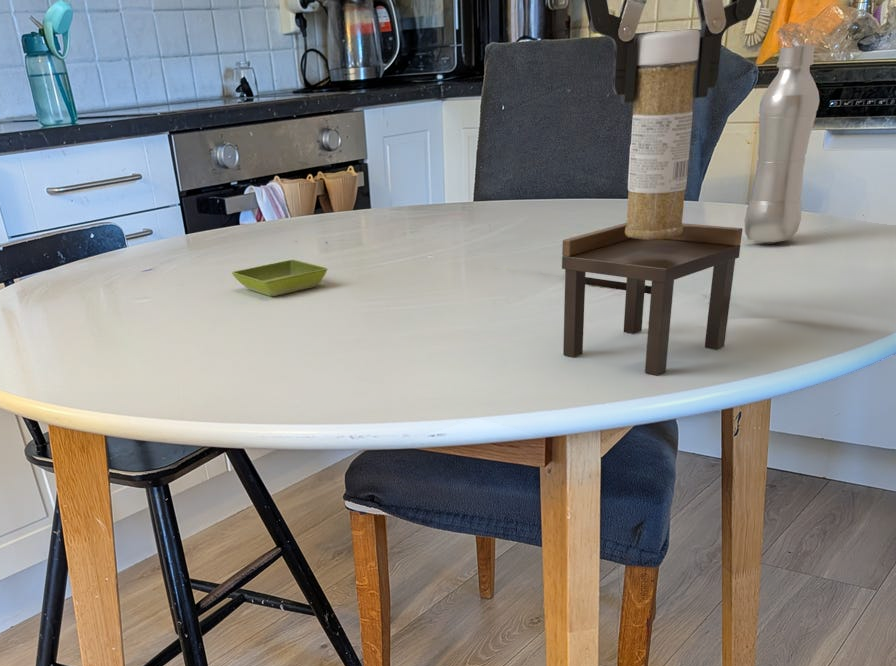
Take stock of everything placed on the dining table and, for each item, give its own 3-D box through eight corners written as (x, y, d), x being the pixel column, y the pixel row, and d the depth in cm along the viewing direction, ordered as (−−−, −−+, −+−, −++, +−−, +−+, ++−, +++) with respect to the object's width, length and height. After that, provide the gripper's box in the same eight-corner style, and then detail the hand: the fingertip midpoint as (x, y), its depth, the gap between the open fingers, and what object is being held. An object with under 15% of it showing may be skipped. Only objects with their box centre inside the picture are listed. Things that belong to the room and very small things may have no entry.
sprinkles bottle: (652, 228, 72) (666, 30, 64) (695, 234, 69) (715, 26, 61) (611, 237, 70) (621, 35, 62) (653, 244, 67) (669, 30, 59)
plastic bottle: (799, 237, 108) (830, 43, 97) (794, 248, 103) (827, 44, 92) (745, 237, 111) (769, 47, 100) (737, 247, 106) (762, 49, 95)
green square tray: (331, 286, 104) (329, 267, 103) (267, 300, 100) (264, 281, 99) (295, 276, 110) (292, 259, 109) (233, 290, 106) (230, 272, 105)
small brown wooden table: (728, 346, 74) (743, 228, 69) (657, 376, 69) (668, 251, 63) (630, 328, 80) (637, 219, 75) (559, 355, 75) (562, 239, 70)
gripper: (577, -221, 52) (570, 111, 62) (824, -248, 51) (778, 94, 60) (566, -193, 58) (560, 105, 68) (786, -216, 57) (749, 90, 67)
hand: (663, 98), depth 64 cm, fingers closed on sprinkles bottle, 4 cm apart
